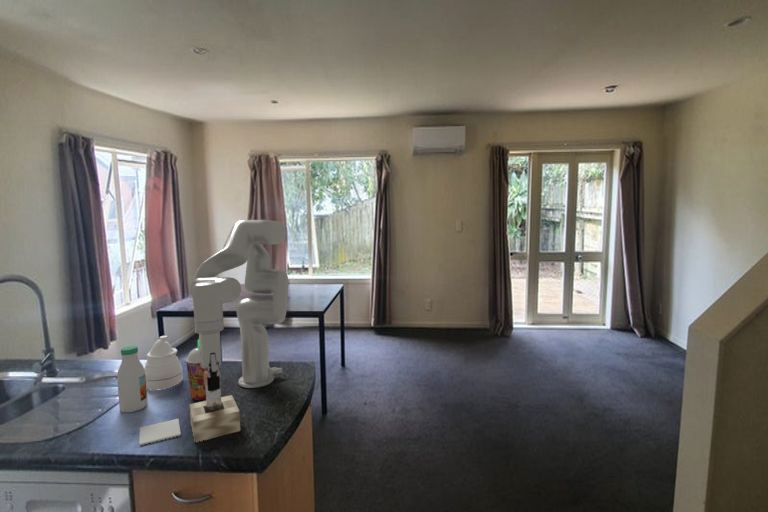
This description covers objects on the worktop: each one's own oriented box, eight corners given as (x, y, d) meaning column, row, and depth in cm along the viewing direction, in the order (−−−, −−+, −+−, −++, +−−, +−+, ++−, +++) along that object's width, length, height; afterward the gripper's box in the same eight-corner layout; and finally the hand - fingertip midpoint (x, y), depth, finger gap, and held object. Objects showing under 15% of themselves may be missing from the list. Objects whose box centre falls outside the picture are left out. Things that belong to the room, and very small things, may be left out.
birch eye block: (232, 413, 127) (231, 394, 126) (240, 430, 116) (239, 410, 116) (190, 423, 121) (189, 404, 120) (194, 442, 110) (193, 422, 110)
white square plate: (178, 420, 123) (178, 418, 123) (180, 435, 114) (180, 433, 114) (140, 429, 118) (140, 427, 118) (139, 446, 109) (139, 444, 109)
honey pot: (190, 380, 153) (187, 333, 151) (156, 393, 142) (152, 343, 140) (170, 373, 159) (167, 329, 157) (136, 385, 148) (132, 338, 146)
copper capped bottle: (205, 413, 119) (203, 371, 118) (221, 409, 121) (219, 368, 120) (207, 420, 115) (204, 376, 114) (223, 416, 117) (221, 373, 116)
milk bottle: (134, 414, 127) (129, 352, 125) (113, 412, 128) (108, 351, 126) (153, 403, 134) (148, 344, 132) (133, 401, 136) (128, 343, 134)
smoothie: (182, 399, 136) (179, 342, 134) (201, 389, 144) (198, 335, 142) (202, 403, 133) (198, 344, 131) (220, 393, 141) (217, 337, 139)
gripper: (192, 320, 121) (196, 378, 123) (197, 334, 106) (201, 401, 108) (219, 316, 124) (222, 373, 126) (227, 330, 110) (231, 394, 112)
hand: (212, 385), depth 117 cm, fingers closed on copper capped bottle, 4 cm apart
